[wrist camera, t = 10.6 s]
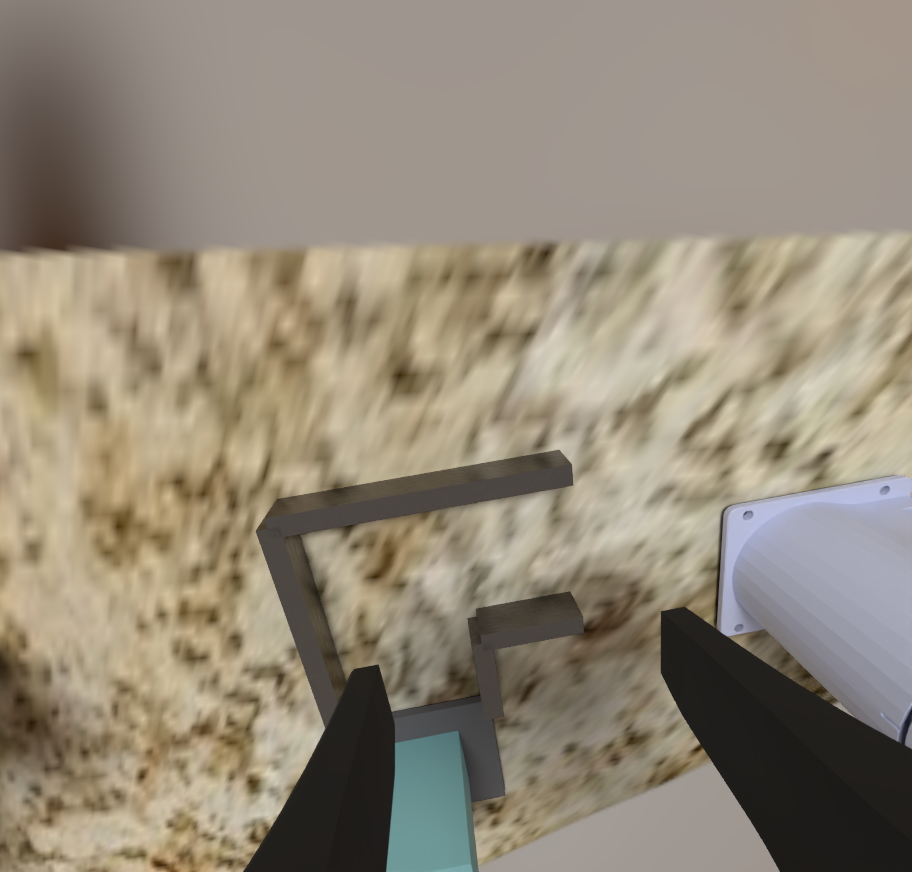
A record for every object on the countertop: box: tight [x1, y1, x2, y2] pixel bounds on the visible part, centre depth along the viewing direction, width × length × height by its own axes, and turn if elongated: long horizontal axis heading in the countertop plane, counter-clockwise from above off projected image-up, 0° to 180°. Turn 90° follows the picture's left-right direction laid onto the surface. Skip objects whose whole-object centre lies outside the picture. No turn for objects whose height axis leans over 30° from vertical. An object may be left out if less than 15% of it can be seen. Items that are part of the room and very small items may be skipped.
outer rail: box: [256, 450, 573, 729], centre depth 21 cm, size 14×14×2 cm
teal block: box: [386, 731, 479, 872], centre depth 22 cm, size 4×4×6 cm
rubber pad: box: [392, 695, 505, 802], centre depth 25 cm, size 8×8×1 cm
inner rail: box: [467, 591, 584, 720], centre depth 23 cm, size 6×6×2 cm
